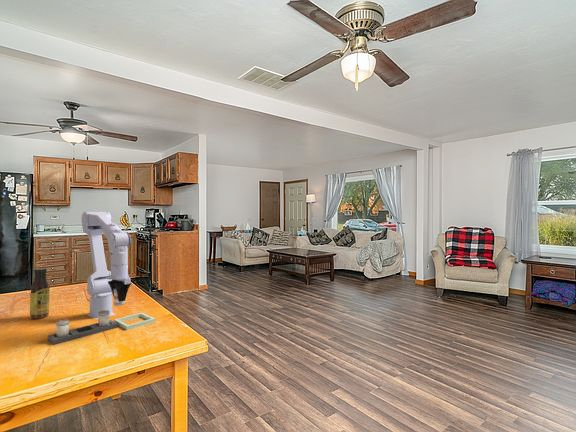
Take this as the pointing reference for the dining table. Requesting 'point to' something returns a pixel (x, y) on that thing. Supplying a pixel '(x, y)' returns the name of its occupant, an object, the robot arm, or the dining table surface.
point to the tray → (131, 326)
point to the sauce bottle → (39, 295)
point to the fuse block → (82, 332)
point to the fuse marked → (116, 301)
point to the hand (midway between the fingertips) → (119, 299)
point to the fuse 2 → (103, 318)
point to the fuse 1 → (62, 328)
